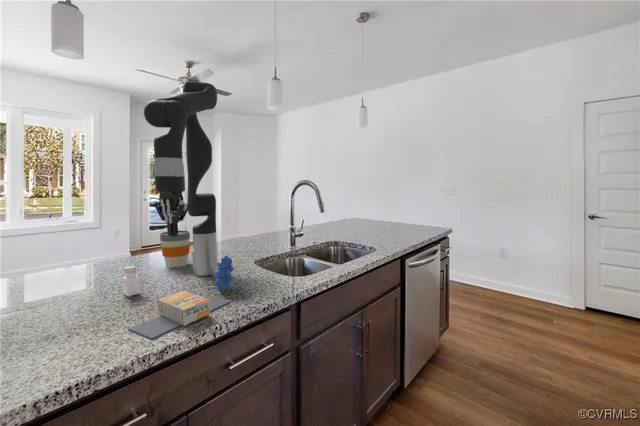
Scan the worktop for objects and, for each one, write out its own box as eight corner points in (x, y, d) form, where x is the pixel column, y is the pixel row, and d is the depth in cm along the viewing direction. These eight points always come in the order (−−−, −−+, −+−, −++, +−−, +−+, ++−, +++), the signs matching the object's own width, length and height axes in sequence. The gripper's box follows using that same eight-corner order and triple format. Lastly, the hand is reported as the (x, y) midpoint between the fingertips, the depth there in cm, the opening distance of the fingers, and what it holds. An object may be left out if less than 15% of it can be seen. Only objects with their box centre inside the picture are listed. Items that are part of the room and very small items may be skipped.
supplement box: (182, 289, 94) (210, 298, 86) (183, 304, 94) (211, 314, 87) (156, 298, 87) (183, 309, 80) (157, 314, 87) (184, 326, 80)
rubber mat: (128, 330, 79) (128, 328, 79) (208, 296, 102) (208, 295, 102) (152, 339, 74) (151, 338, 74) (230, 302, 97) (230, 301, 97)
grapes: (220, 283, 114) (219, 252, 113) (237, 284, 114) (236, 252, 112) (205, 295, 103) (203, 260, 102) (224, 296, 102) (223, 261, 101)
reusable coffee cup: (184, 268, 134) (182, 235, 132) (155, 268, 134) (153, 235, 133) (196, 261, 146) (194, 230, 145) (170, 261, 147) (168, 230, 145)
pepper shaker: (136, 291, 107) (134, 264, 106) (140, 293, 105) (138, 266, 104) (123, 294, 104) (121, 267, 103) (127, 297, 101) (125, 269, 100)
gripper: (142, 174, 85) (146, 236, 87) (172, 174, 79) (176, 240, 81) (167, 175, 91) (170, 232, 93) (197, 174, 85) (199, 236, 87)
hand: (173, 235), depth 87 cm, fingers closed
